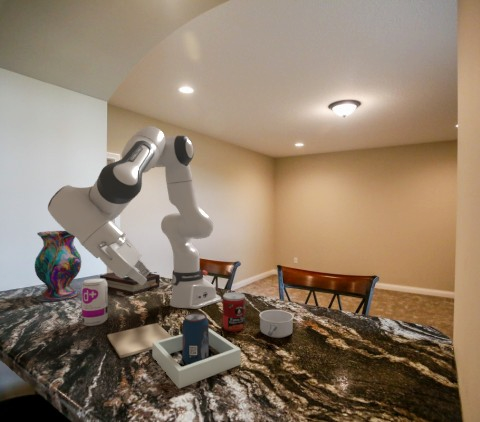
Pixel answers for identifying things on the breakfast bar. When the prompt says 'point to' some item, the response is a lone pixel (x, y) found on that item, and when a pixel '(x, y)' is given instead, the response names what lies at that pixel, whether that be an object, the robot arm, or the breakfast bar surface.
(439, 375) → the breakfast bar surface
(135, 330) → the board
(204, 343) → the soda can
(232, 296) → the canned food
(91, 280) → the supplement can
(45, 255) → the vase
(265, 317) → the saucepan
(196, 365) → the rectangular frame
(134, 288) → the decorative book
